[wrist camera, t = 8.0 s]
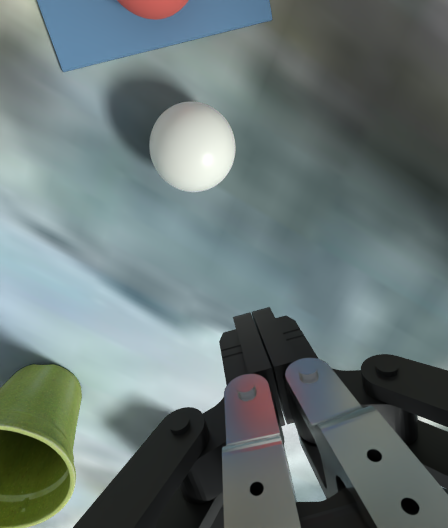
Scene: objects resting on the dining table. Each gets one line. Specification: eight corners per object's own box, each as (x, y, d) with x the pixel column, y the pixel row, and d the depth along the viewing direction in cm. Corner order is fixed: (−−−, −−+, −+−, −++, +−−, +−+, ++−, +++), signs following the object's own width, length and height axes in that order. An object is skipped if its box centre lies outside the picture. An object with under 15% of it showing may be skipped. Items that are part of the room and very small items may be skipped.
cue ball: (252, 189, 21) (232, 167, 26) (234, 94, 18) (215, 88, 23) (167, 214, 21) (163, 187, 25) (135, 121, 18) (137, 110, 23)
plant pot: (37, 324, 28) (-23, 400, 20) (124, 387, 31) (104, 476, 23) (-35, 392, 29) (-119, 490, 21) (55, 446, 32) (13, 549, 24)
